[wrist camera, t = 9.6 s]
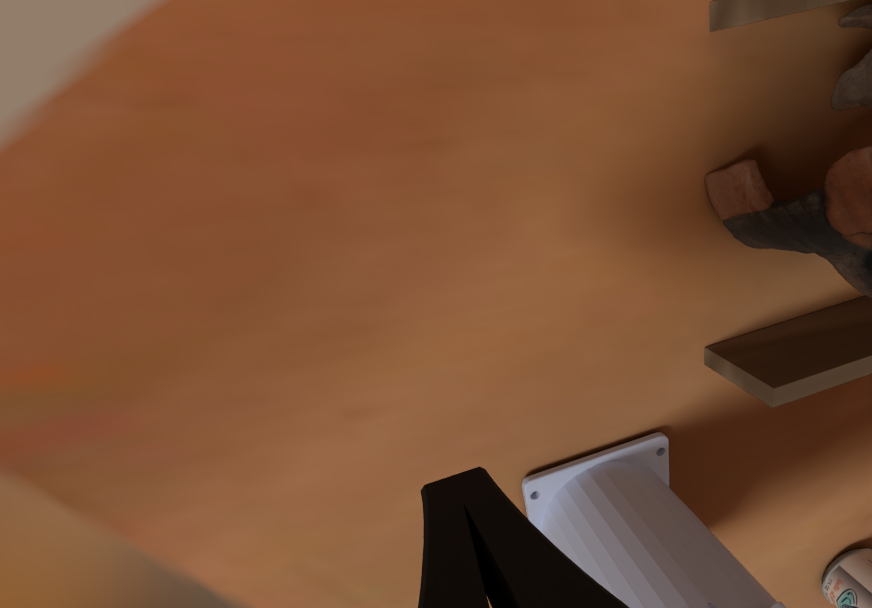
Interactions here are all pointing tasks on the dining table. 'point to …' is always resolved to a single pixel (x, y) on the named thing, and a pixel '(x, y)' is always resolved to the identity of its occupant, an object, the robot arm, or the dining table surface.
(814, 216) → the brown hollow ring part
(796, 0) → the box
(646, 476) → the robot arm
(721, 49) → the dining table surface
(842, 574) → the supplement bottle
